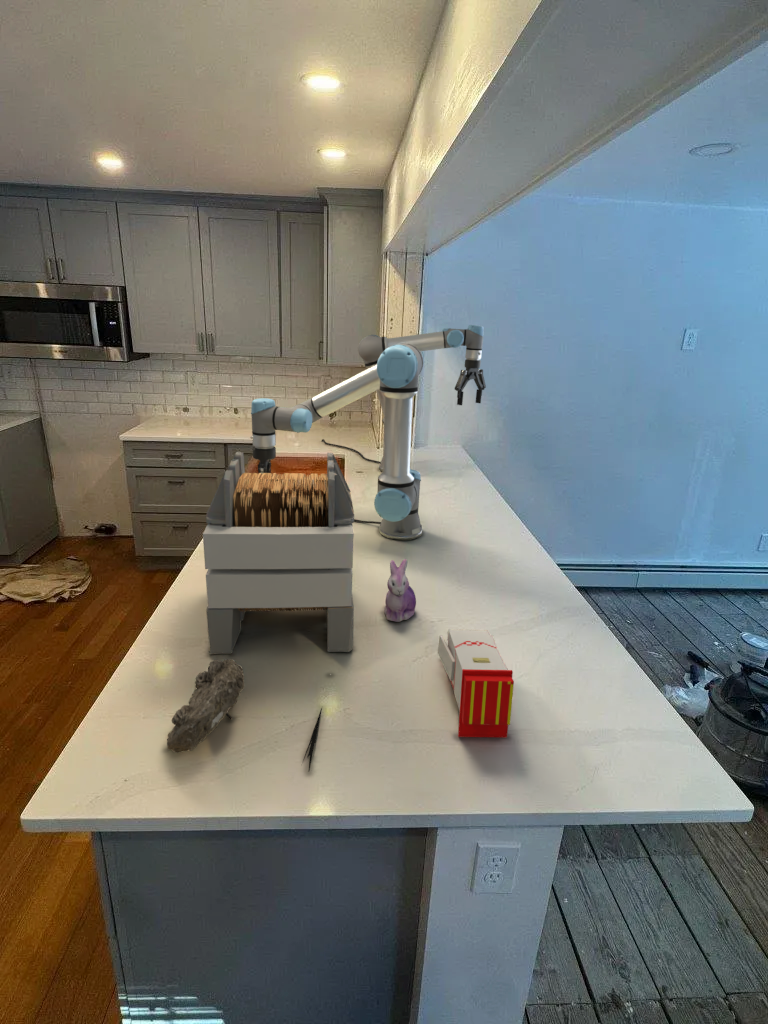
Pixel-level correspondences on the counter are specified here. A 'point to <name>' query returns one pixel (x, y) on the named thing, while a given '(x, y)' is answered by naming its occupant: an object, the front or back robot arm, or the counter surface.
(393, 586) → the figurine
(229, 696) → the fossil
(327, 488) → the record storage crate
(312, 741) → the feather
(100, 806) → the counter surface
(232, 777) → the counter surface
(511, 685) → the toy
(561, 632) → the counter surface
